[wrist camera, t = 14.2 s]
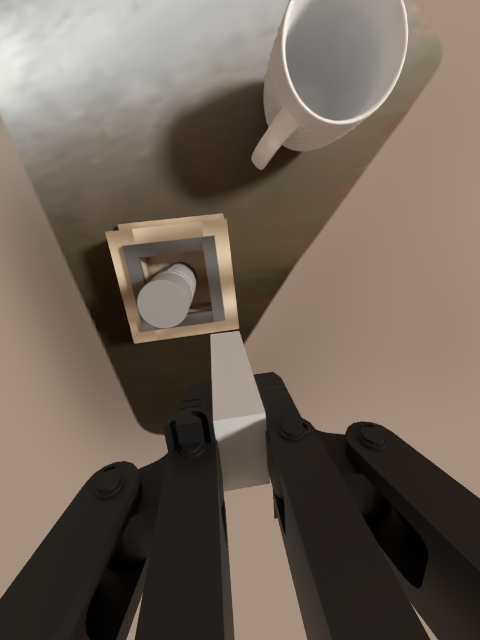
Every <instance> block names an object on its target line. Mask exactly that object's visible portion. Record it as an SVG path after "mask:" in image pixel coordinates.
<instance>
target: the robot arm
mask: <svg viewBox="0 0 480 640" xmlns="http://www.w3.org/2000/svg"><path fill="white" fill-rule="evenodd" d="M211 366H212V381H210V382H203V383H196V384H189V386H188V387H187V388H186V390H185V391H184V392H183V398H182V404H181V410H180V411H178V412H176V413H175V414H173V415H172V416H170V417H169V418H168V419H167V420H166V422H165V424H164V426H163V431H164V435H165V439H166V444H167V448H168V453H167V454H166V455H165V456H164V457H162V458H161V459H159V460H157V461H155V462H154V463H151V464H149V465H147V466H144V467H142V468H140V469H137V467H136V466H135V465H134V464H132V463H130V462H126V461H122V462H115V463H112V464H110V465H107V466H105V467H103V468H102V469H100V470H99V471H97V472H96V473H94V474H93V476H91V478H90V479H89V480H88V481H87V482H86V483H85V485H84V486H83V487H82V488H81V490H80V491H79V493H78V494H77V495H76V497H75V498H74V499H73V501H72V502H71V503H70V505H69V506H68V508H67V509H66V510H65V511H64V513H63V514H62V516H61V517H60V519H59V520H58V521H57V522H56V524H55V525H54V526H53V528H52V529H51V531H50V532H49V533H48V535H47V536H46V537H45V539H44V540H43V542H42V543H41V544H40V546H39V547H38V548H37V550H36V551H35V552H34V554H33V555H32V556H31V558H30V559H29V561H28V562H27V563H26V565H25V566H24V567H23V569H22V570H21V571H20V573H19V574H18V576H17V577H16V578H15V580H14V581H13V582H12V584H11V585H10V586H9V588H8V589H7V590H6V592H5V593H4V595H3V596H2V597H1V599H0V640H126V639H127V636H128V633H129V630H130V627H131V624H132V622H133V619H134V616H135V613H136V610H137V608H138V605H139V602H140V599H141V596H142V594H143V596H142V601H141V607H140V613H139V618H138V624H137V630H136V636H135V640H234V625H233V610H232V597H231V581H230V566H229V553H228V552H229V551H228V537H227V523H226V509H225V502H224V491H229V490H234V489H240V488H246V487H252V486H257V485H263V484H268V483H270V479H271V483H272V486H273V499H274V517H275V519H276V518H278V521H279V525H280V528H281V533H282V537H283V541H284V546H285V549H286V554H287V558H288V562H289V566H290V570H291V574H292V578H293V582H294V586H295V591H296V595H297V599H298V603H299V607H300V611H301V615H302V619H303V623H304V628H305V631H306V635H307V640H430V638H429V636H428V634H427V633H426V631H425V629H424V627H423V625H422V624H421V621H420V620H419V618H418V616H417V615H416V612H415V611H414V609H413V607H414V608H415V609H416V611H417V612H418V613H419V615H420V616H421V617H422V619H423V620H424V621H425V623H426V624H427V625H428V626H429V628H430V629H431V631H432V632H433V633H434V635H435V636H436V637H437V639H438V640H480V498H478V497H477V496H476V495H474V494H473V493H472V492H470V491H469V490H468V489H466V488H465V487H464V486H462V485H461V484H460V483H459V482H457V481H456V480H454V479H453V478H452V477H451V476H449V475H448V474H447V473H445V472H444V471H443V470H441V469H440V468H439V467H437V466H436V465H435V464H434V463H432V462H431V461H430V460H428V459H427V458H425V457H424V456H423V455H422V454H420V453H419V452H417V451H416V450H415V449H414V448H412V447H411V446H410V445H408V444H407V443H406V442H405V441H403V440H402V439H401V438H399V437H398V436H397V435H395V434H394V433H393V432H391V431H390V430H388V429H386V428H385V427H383V426H381V425H378V424H375V423H372V422H357V423H353V424H352V425H350V426H349V427H348V428H347V431H346V434H345V435H343V434H333V433H326V432H321V431H318V430H316V429H315V428H314V427H313V426H312V425H311V423H310V422H308V421H307V420H305V419H303V418H301V416H300V414H299V412H298V410H297V408H296V406H295V404H294V402H293V400H292V398H291V396H290V395H289V393H288V390H287V388H286V387H285V384H284V383H283V381H282V379H281V377H279V376H278V375H277V374H275V373H274V372H270V373H262V374H255V375H253V373H252V370H251V367H250V364H249V360H248V357H247V354H246V351H245V348H244V345H243V342H242V339H241V336H240V333H239V331H236V332H228V333H220V334H212V335H211ZM269 475H270V476H269ZM411 604H412V605H413V607H412V605H411Z"/></svg>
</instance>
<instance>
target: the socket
mask: <svg viewBox="0 0 480 640" xmlns="http://www.w3.org/2000/svg"><path fill="white" fill-rule="evenodd" d="M118 228H119V230H118V231H109V232H105V233H106V237H107V241H108V245H109V248H110V252H111V256H112V260H113V264H114V268H115V271H116V275H117V279H118V283H119V287H120V291H121V294H122V298H123V302H124V306H125V310H126V314H127V317H128V321H129V325H130V329H131V333H132V337H133V340H134V343H141V342H148V341H156V340H163V339H170V338H177V337H184V336H191V335H198V334H205V333H212V332H219V331H226V330H233V329H239V323H238V315H237V306H236V297H235V288H234V280H233V271H232V262H231V254H230V245H229V236H228V228H227V219H224V217H223V214H213V215H204V216H194V217H185V218H175V219H166V220H156V221H147V222H137V223H128V224H118ZM176 262H184V263H187V264H189V265H190V266H191V267H193V269H194V270H195V272H196V274H197V284H196V288H195V292H194V296H193V300H192V302H191V305H190V307H189V310H188V313H187V315H186V317H185V318H184V320H183V321H182V322H181V323H179V324H178V325H176V326H174V327H171V328H158V327H154V326H152V325H150V324H149V323H147V322H146V321H145V320H144V319H143V318H142V316H141V315H140V313H139V311H138V307H137V298H138V295H139V293H140V291H141V289H142V288H143V287H144V286H145V285H146V284H147V283H148V282H149V281H151V280H152V279H153V278H154V277H155V276H156V275H157V274H159V273H160V272H161V271H163V270H164V269H166V268H167V267H168V266H170V265H171V264H173V263H176Z"/></svg>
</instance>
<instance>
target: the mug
mask: <svg viewBox="0 0 480 640" xmlns="http://www.w3.org/2000/svg"><path fill="white" fill-rule="evenodd" d="M407 41H408V24H407V15H406V10H405V6H404V2H403V0H289V3H288V5H287V8H286V11H285V13H284V16H283V19H282V22H281V24H280V26H279V28H278V34H277V37H276V39H275V41H274V46H273V49H272V51H271V54H270V60H269V62H268V68H267V71H266V74H265V76H266V78H265V82H264V92H263V93H264V100H263V102H264V111H265V117H266V121H267V124H268V127H269V128H268V129H267V131H266V133H265V134H264V135H263V137H262V138H261V140H260V141H259V143H258V145H257V146H256V148H255V150H254V152H253V154H252V157H251V159H252V162H253V164H254V165H255V166H256V167H257V168H258V169H260V170H263V169H264V168H265V167H266V165H267V164H268V163H269V161H270V160H271V158H272V157H273V156H274V154H275V153H276V152H277V151H278V149H279V148H280V147H281V146H282V145H283V146H284V147H286V148H288V149H290V150H295V151H302V152H303V151H310V150H315V149H319V148H321V147H323V146H327V145H328V144H330V143H333V142H334V141H335V140H337V139H339V138H341V137H342V136H343V135H346V134H347V133H348V132H349V131H350V130H352V129H354V128H355V126H357V125H358V124H360V123H361V122H362V121H363V120H364V119H366V118H367V117H368V116H369V115H371V114H372V113H373V112H374V111H375V110H377V109H378V108H379V107H380V105H381V104H382V103H383V102H384V101H385V100H386V98H387V97H388V96H389V94H390V93H391V91H392V89H393V88H394V86H395V84H396V82H397V80H398V77H399V75H400V72H401V70H402V67H403V63H404V60H405V56H406V50H407Z"/></svg>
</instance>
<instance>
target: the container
mask: <svg viewBox="0 0 480 640" xmlns="http://www.w3.org/2000/svg"><path fill="white" fill-rule="evenodd" d="M196 284H197V274H196V272H195V270H194V269H193V267H191V266H190V265H189V264H187V263H184V262H176V263H173V264H171V265H170V266H168V267H167V268H166V269H164V270H163V271H161V272H160V273H159V274H157V275H156V276H155V277H154V278H153V279H152V280H151V281H149V282H148V283H147V284H146V285H145V286H144V287H143V288H142V289H141V291H140V293H139V295H138V298H137V307H138V311H139V313H140V315H141V316H142V318H143V319H144V320H145V321H146V322H147V323H149V324H150V325H152V326H154V327H158V328H171V327H174V326H176V325H178V324H179V323H181V322H182V321H183V320H184V318H185V317H186V315H187V313H188V310H189V307H190V305H191V302H192V300H193V296H194V292H195V288H196Z"/></svg>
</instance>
